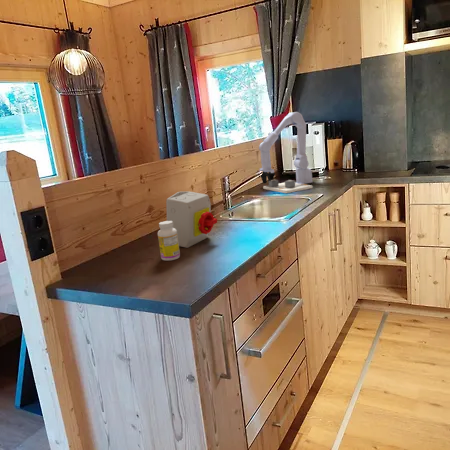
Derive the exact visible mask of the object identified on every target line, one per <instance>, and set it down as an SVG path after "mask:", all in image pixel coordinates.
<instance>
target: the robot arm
mask: <svg viewBox="0 0 450 450" xmlns="http://www.w3.org/2000/svg"><path fill="white" fill-rule="evenodd" d="M289 125H293V126H295V127H296V128H297V131H296V132H297V134H296V135H297V136H296V137H297V138H296V141H297V142H296V154H295V157H294V158H295V159H294V161H293V165H294V167H295V179H296V181H295V183H299V184H306V185H307V184H311V183H314V181H313V173H312V169H311V168H310V167H309V164H310V163H309V161H308V156H307V154H306V149H307V138H306V137H307V123H306V121H305V119H304V117H303V114H302V113H301V112H299V111H294V112H293V111H292V112H291V111H290V112H289V113H288V114H286V116H284V118H283V119H282V120H281V122H279V124H278V125H277V126H276V128H275V130H274V131H271V132H269V133H267V134H268V135H267V136H266V138H265V139H263V140H262V141H263V142H261V143H260V144H259V146H258V150H259V151H260V163H261V167H259V172H260V171H263V174H262V175H261V176H260V178H261V181H262V184H267V181H270V180H274V179H275V178H274V177H275V175H276V172H275V169H273V168H272V162H271V152H270V151H271V149H272V146H274V144H275V142H276V141H277V140H278V139H279V135H280V133H282V131H284V129H285V128H286V127H287V126H289Z"/></svg>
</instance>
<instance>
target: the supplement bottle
mask: <svg viewBox="0 0 450 450" xmlns="http://www.w3.org/2000/svg"><path fill="white" fill-rule="evenodd" d="M158 227H159V228H160V229H159V230H158V231H157V238H158V239H157V240H158V246H159V247H158V248H159V253H160V258H161V260H162V261H166V262H167V261H168V262H170V261H175V260H177V259H179V258H180V257H181V251H180V246H179V243H178V236H177V230H176V229H175V228H173V222H172V221H167V220H165V221H160V222H159V223H158Z"/></svg>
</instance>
